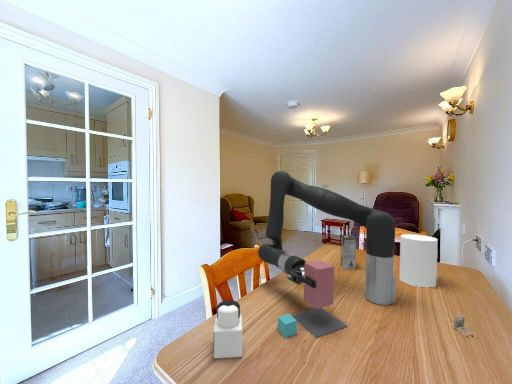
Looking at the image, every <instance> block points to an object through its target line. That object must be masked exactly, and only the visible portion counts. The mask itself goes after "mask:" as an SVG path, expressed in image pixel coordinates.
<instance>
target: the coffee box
mask: <svg viewBox="0 0 512 384" xmlns="http://www.w3.org/2000/svg"><path fill="white" fill-rule="evenodd" d="M356 256H357V238H356V237H355V235H353V234H341V235H340V265H341V267H343V268H342V270H350V269H353V271H356V264H357V263H356V261H357V259H356V258H357V257H356Z"/></svg>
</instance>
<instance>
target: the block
mask: <svg viewBox="0 0 512 384" xmlns="http://www.w3.org/2000/svg"><path fill="white" fill-rule="evenodd" d="M277 331H278V332H279V333H280V334H281V335H282V336H283V337H284V338H285V339H287V338H290V337H292V336H294V335H297V333H298V321H297V320H296V319H295V318H294V317H292V315H291V314H290V313H287V314H283V315H281V316H277Z"/></svg>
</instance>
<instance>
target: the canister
mask: <svg viewBox="0 0 512 384" xmlns="http://www.w3.org/2000/svg"><path fill="white" fill-rule="evenodd" d="M438 240H439V239H438V238H436V237H434V236H433V237H432V236H429V235H423V234H415V233H414V234H413V233H412V234H411V233H408V234H407V233H403V234H401V235H400V245H399V246H400V247H399V280H400V281H401V282H402V281H403V282H402V283H404V282H405V283H404V284H406V283H407V284H406V285H410V286H412V287H415V286H417V287H416V288H420V287H426V288H425V289H429V288H428V287H434V286H436V287H437V273H438V272H437V270H438V269H437V268H438ZM434 288H435V287H434Z"/></svg>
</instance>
